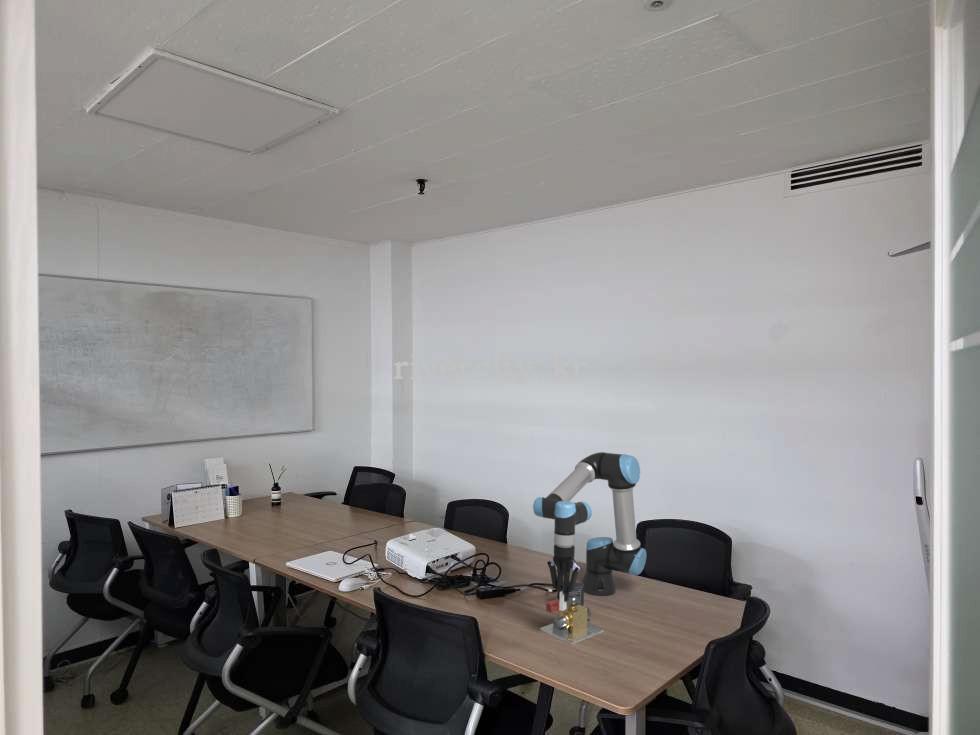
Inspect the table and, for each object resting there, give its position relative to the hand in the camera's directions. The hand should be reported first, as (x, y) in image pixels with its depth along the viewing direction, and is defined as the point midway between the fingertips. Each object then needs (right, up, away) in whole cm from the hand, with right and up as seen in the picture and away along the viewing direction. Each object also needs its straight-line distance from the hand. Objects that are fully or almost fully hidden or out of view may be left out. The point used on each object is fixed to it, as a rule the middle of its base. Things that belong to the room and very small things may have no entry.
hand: (562, 609), depth 228 cm
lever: (+1, -1, +6) cm, 6 cm away
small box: (+7, -12, +31) cm, 34 cm away
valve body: (+4, -12, +9) cm, 16 cm away
